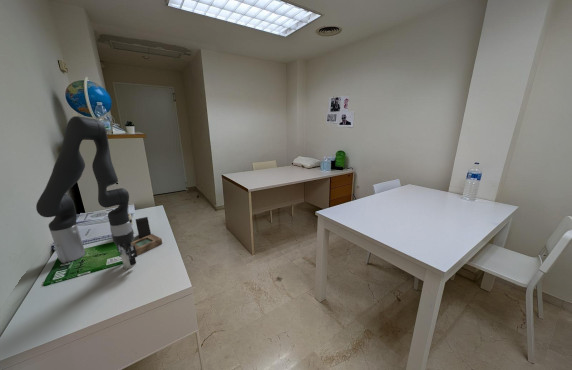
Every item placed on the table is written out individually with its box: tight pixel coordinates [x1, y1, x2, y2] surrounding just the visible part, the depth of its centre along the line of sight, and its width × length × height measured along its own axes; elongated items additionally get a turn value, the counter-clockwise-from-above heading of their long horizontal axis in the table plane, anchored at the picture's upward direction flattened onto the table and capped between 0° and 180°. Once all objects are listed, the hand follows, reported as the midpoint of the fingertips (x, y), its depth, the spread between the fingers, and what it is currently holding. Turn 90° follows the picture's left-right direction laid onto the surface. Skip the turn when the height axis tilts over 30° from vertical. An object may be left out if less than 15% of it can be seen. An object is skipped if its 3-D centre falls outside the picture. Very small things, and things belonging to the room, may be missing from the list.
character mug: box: [128, 213, 135, 235], centre depth 127 cm, size 11×7×13 cm, turn 38°
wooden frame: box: [130, 233, 163, 256], centre depth 116 cm, size 14×10×3 cm
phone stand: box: [135, 216, 152, 239], centre depth 126 cm, size 9×6×12 cm, turn 37°
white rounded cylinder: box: [120, 250, 136, 269], centre depth 100 cm, size 5×5×8 cm
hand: (129, 261), depth 101 cm, fingers open, 8 cm apart
